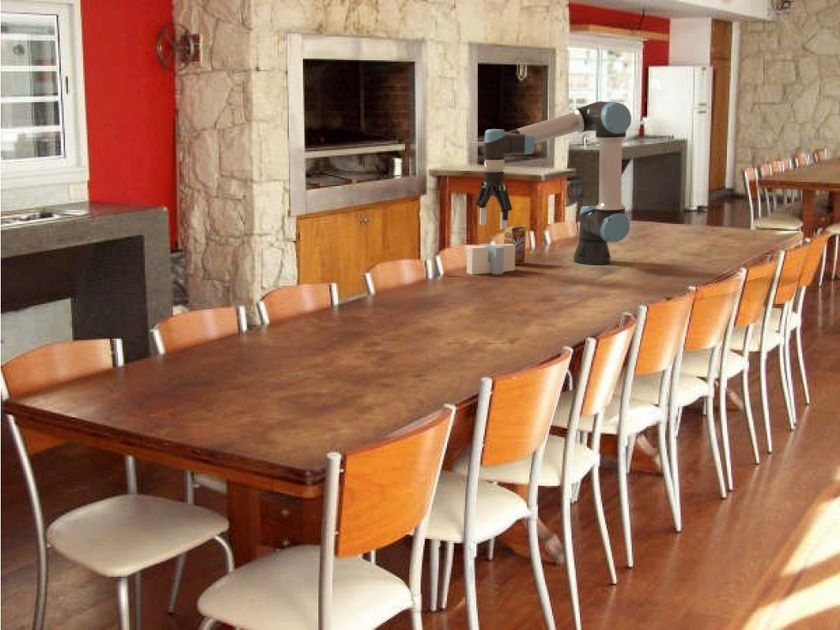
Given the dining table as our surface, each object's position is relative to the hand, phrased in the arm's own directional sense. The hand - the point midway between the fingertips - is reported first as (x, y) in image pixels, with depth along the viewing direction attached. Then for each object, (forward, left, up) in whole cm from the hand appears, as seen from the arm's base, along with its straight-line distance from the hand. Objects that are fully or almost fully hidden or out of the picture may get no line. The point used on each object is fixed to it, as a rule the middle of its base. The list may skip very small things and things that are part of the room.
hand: (493, 226), depth 416 cm
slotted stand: (0, 0, -17) cm, 17 cm away
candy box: (-11, -19, -18) cm, 28 cm away
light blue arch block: (0, 0, -17) cm, 17 cm away
